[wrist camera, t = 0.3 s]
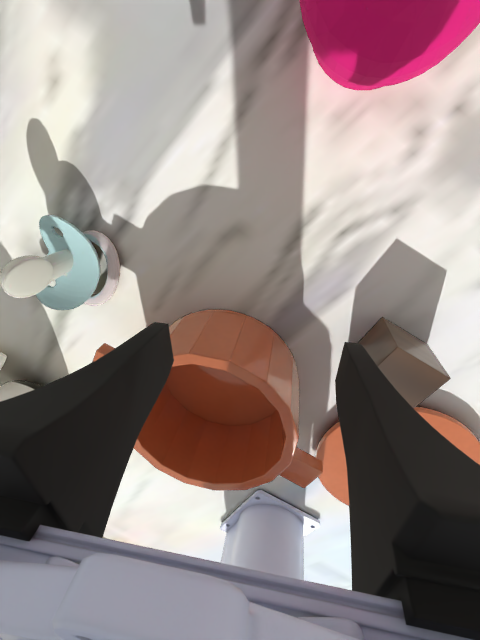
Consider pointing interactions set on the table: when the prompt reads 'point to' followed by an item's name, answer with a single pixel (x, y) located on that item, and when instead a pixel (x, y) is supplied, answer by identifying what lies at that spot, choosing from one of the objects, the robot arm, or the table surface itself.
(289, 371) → the pot
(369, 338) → the block
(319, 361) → the table surface
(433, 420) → the lid
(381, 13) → the pepper mill
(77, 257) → the pacifier
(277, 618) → the robot arm
